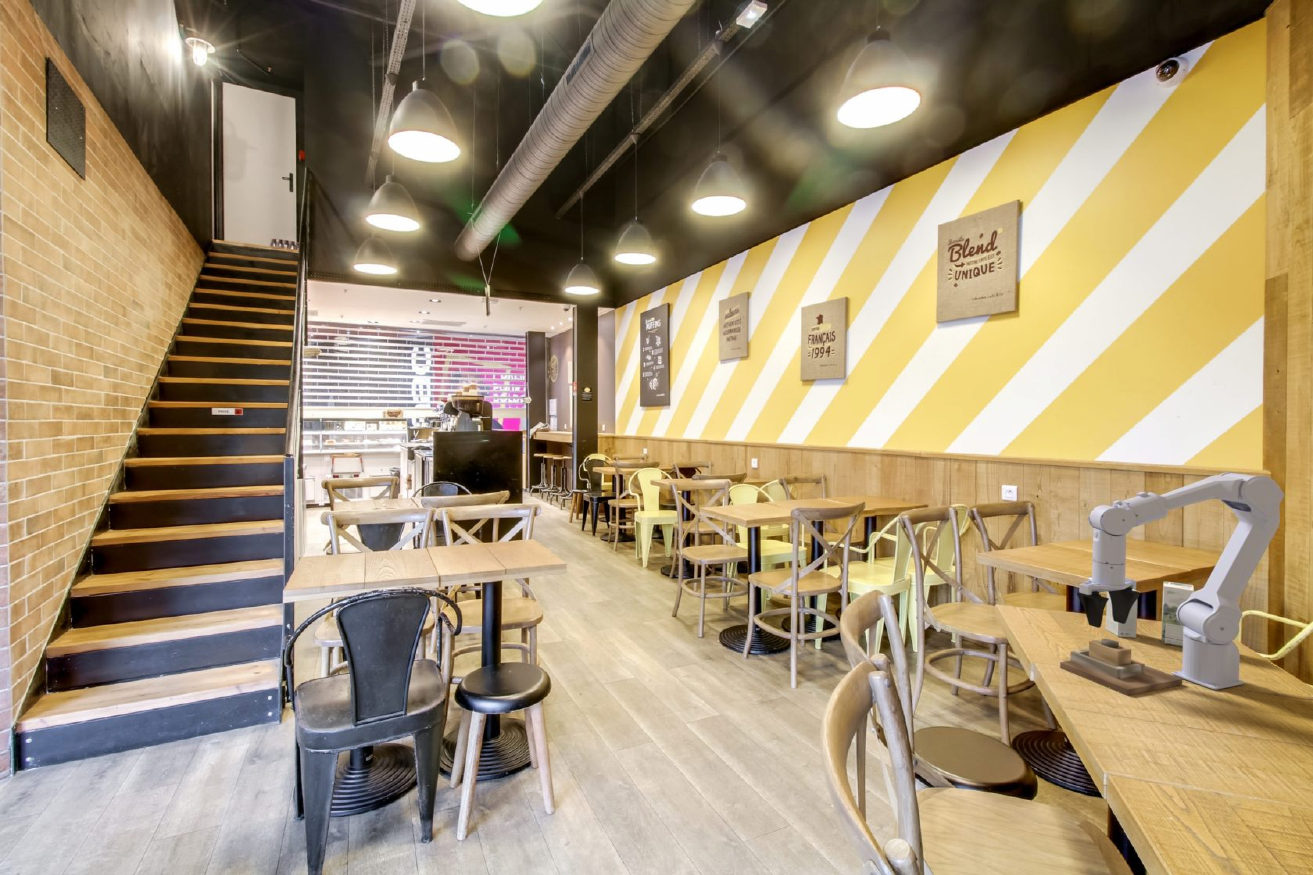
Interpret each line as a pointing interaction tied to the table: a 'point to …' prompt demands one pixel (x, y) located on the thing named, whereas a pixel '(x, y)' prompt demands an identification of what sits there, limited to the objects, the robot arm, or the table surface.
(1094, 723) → the table surface
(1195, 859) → the table surface
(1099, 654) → the knob block
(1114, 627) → the skincare box
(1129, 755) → the table surface
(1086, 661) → the board
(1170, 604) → the syrup box
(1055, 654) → the table surface
